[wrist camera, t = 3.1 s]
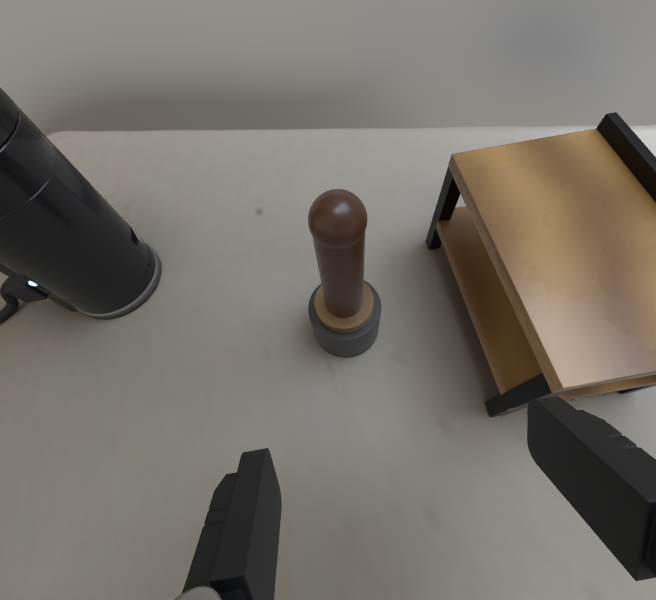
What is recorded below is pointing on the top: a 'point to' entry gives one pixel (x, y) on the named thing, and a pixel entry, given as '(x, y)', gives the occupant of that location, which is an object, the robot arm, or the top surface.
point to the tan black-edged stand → (556, 261)
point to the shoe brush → (342, 276)
